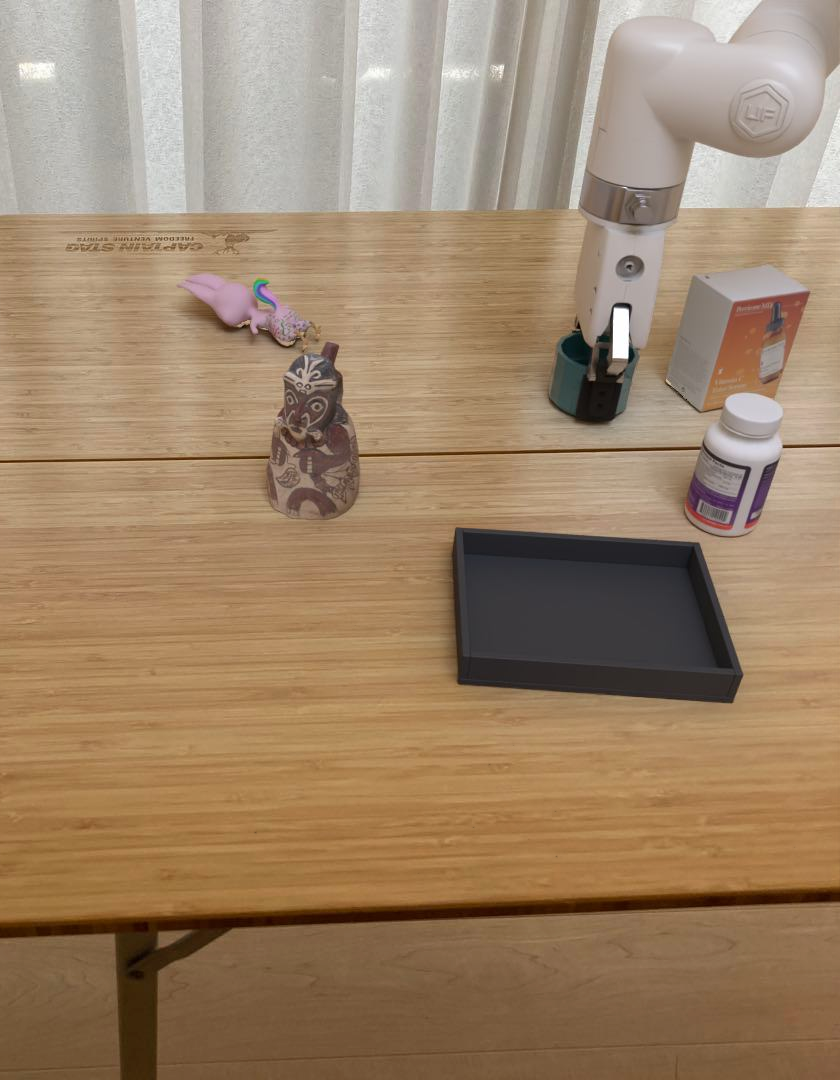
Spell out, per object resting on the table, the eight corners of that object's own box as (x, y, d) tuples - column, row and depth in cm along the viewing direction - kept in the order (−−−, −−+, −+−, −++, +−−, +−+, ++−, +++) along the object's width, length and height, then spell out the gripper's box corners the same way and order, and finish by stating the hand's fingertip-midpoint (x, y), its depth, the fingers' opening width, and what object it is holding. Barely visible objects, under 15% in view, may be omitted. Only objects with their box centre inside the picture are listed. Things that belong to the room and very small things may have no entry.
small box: (699, 414, 96) (731, 302, 89) (662, 382, 100) (690, 273, 93) (776, 400, 98) (813, 289, 91) (737, 369, 102) (770, 261, 95)
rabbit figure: (326, 346, 106) (197, 285, 111) (337, 292, 102) (204, 230, 106) (292, 373, 102) (160, 309, 106) (303, 318, 98) (165, 253, 102)
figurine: (246, 496, 85) (245, 357, 77) (302, 455, 89) (306, 320, 82) (322, 532, 81) (328, 390, 74) (376, 488, 86) (387, 350, 79)
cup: (620, 383, 99) (632, 333, 96) (632, 424, 94) (645, 372, 91) (544, 379, 100) (553, 329, 97) (551, 419, 94) (561, 368, 91)
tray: (691, 569, 79) (699, 542, 78) (733, 703, 69) (743, 675, 67) (451, 554, 80) (455, 526, 78) (458, 684, 70) (462, 655, 68)
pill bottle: (735, 493, 86) (771, 384, 80) (770, 535, 82) (810, 424, 76) (670, 498, 86) (701, 389, 80) (702, 542, 82) (737, 430, 76)
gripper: (703, 243, 78) (649, 453, 90) (659, 157, 92) (617, 349, 103) (596, 238, 79) (555, 447, 90) (568, 153, 92) (535, 344, 103)
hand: (588, 393), depth 96 cm, fingers closed on cup, 6 cm apart
